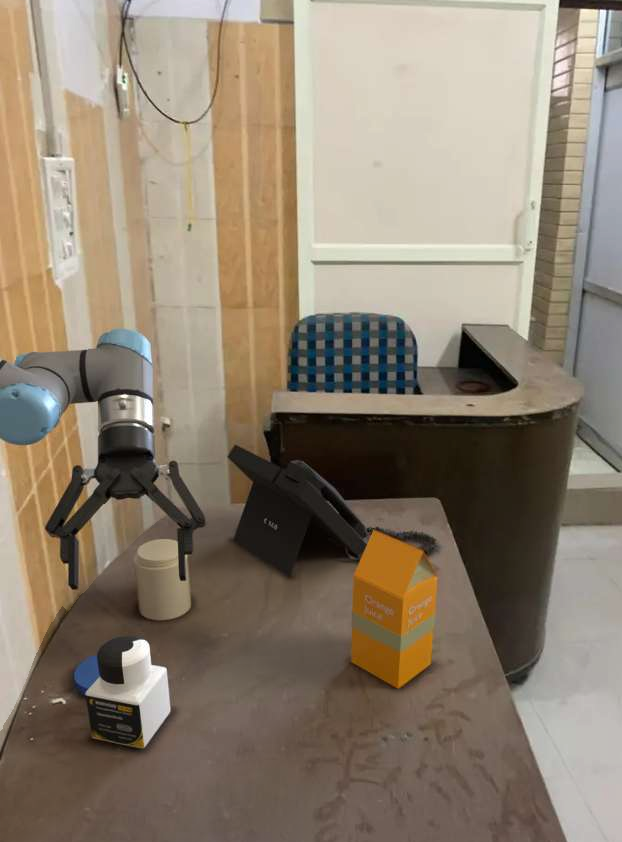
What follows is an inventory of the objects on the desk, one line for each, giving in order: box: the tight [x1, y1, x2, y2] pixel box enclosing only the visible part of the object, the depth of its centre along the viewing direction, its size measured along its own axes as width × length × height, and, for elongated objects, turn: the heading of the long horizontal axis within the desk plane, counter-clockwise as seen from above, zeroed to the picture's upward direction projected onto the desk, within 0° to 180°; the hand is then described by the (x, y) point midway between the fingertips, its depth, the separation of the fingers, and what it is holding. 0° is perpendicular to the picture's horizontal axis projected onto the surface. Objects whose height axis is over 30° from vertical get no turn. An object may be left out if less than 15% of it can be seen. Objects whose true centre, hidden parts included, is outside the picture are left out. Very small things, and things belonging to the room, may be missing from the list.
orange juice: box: [350, 529, 439, 689], centre depth 105 cm, size 8×9×20 cm
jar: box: [133, 538, 192, 621], centre depth 118 cm, size 8×8×10 cm
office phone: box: [227, 444, 437, 578], centre depth 137 cm, size 29×28×20 cm
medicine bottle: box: [85, 635, 172, 749], centre depth 93 cm, size 7×7×12 cm
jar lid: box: [73, 653, 100, 697], centre depth 103 cm, size 8×8×2 cm
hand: (128, 583), depth 99 cm, fingers open, 13 cm apart
